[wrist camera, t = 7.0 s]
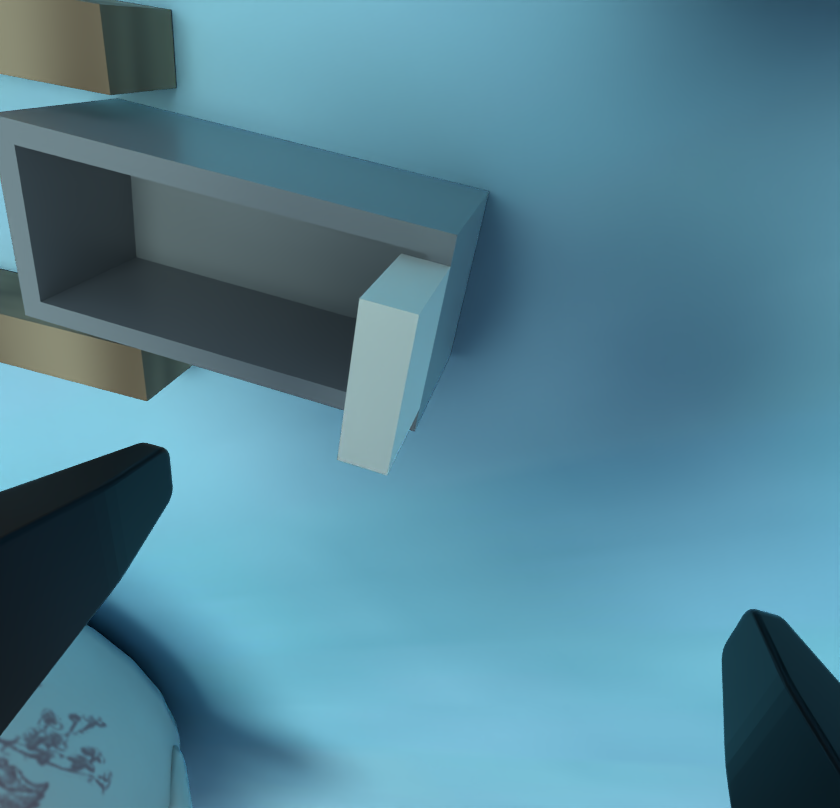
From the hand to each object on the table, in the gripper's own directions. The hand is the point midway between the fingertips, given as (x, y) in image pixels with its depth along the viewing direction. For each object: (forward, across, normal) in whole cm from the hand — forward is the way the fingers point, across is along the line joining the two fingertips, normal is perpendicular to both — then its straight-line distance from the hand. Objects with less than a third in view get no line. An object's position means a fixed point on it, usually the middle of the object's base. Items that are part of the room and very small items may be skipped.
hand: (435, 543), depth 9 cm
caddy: (+12, +8, 0) cm, 14 cm away
